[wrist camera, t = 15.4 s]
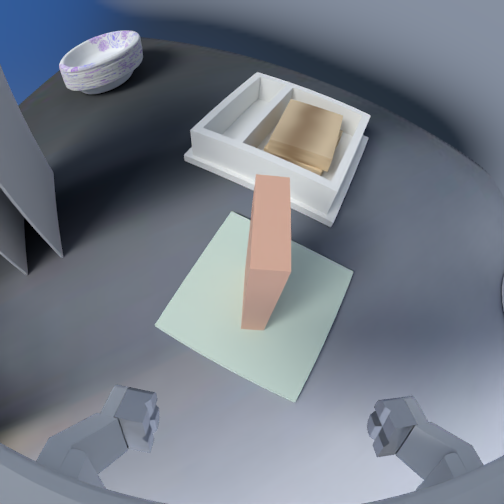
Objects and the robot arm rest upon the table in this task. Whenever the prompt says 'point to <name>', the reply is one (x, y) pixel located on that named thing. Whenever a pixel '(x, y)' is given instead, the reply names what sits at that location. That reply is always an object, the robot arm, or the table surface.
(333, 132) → the offcut upper
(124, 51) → the paper bowls
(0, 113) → the brochure
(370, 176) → the table surface
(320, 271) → the sage mat
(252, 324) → the terracotta board
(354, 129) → the white divided tray
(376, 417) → the robot arm
